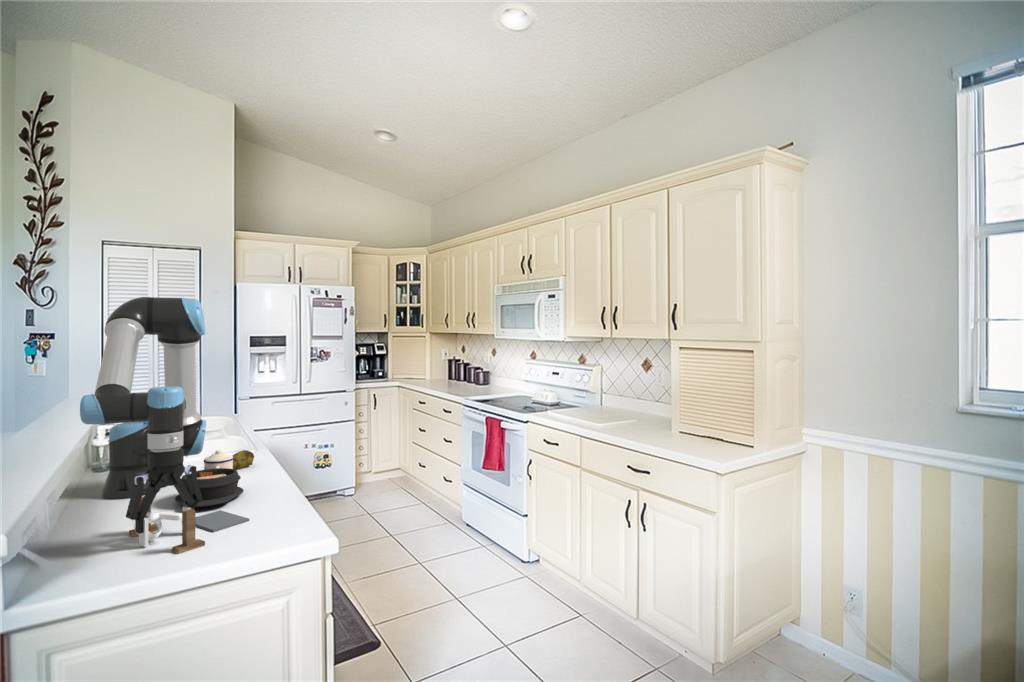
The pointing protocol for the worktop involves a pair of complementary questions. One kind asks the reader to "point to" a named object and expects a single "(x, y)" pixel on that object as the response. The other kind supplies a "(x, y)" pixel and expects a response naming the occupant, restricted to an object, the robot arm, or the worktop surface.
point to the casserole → (214, 486)
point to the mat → (218, 520)
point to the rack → (187, 532)
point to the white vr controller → (159, 521)
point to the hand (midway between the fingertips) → (166, 538)
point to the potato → (242, 459)
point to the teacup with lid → (218, 461)
